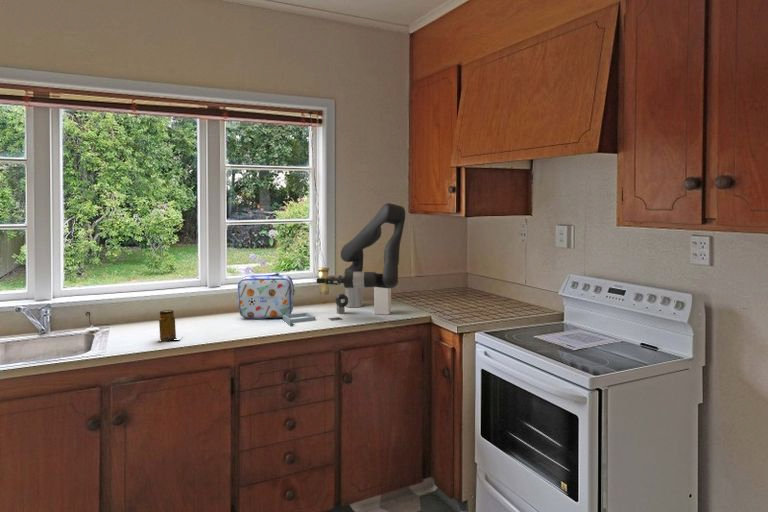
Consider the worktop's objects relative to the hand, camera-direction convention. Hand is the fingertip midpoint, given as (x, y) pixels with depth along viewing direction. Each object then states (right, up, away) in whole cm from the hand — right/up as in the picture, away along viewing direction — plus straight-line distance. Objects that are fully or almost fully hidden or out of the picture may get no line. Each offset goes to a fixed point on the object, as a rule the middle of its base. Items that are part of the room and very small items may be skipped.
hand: (317, 280), depth 242 cm
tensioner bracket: (+9, -19, +6) cm, 22 cm away
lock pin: (+3, -6, 0) cm, 7 cm away
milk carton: (+30, -18, +20) cm, 40 cm away
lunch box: (-26, -19, +14) cm, 35 cm away
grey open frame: (-9, -20, +2) cm, 22 cm away
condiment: (-57, -23, -27) cm, 67 cm away
